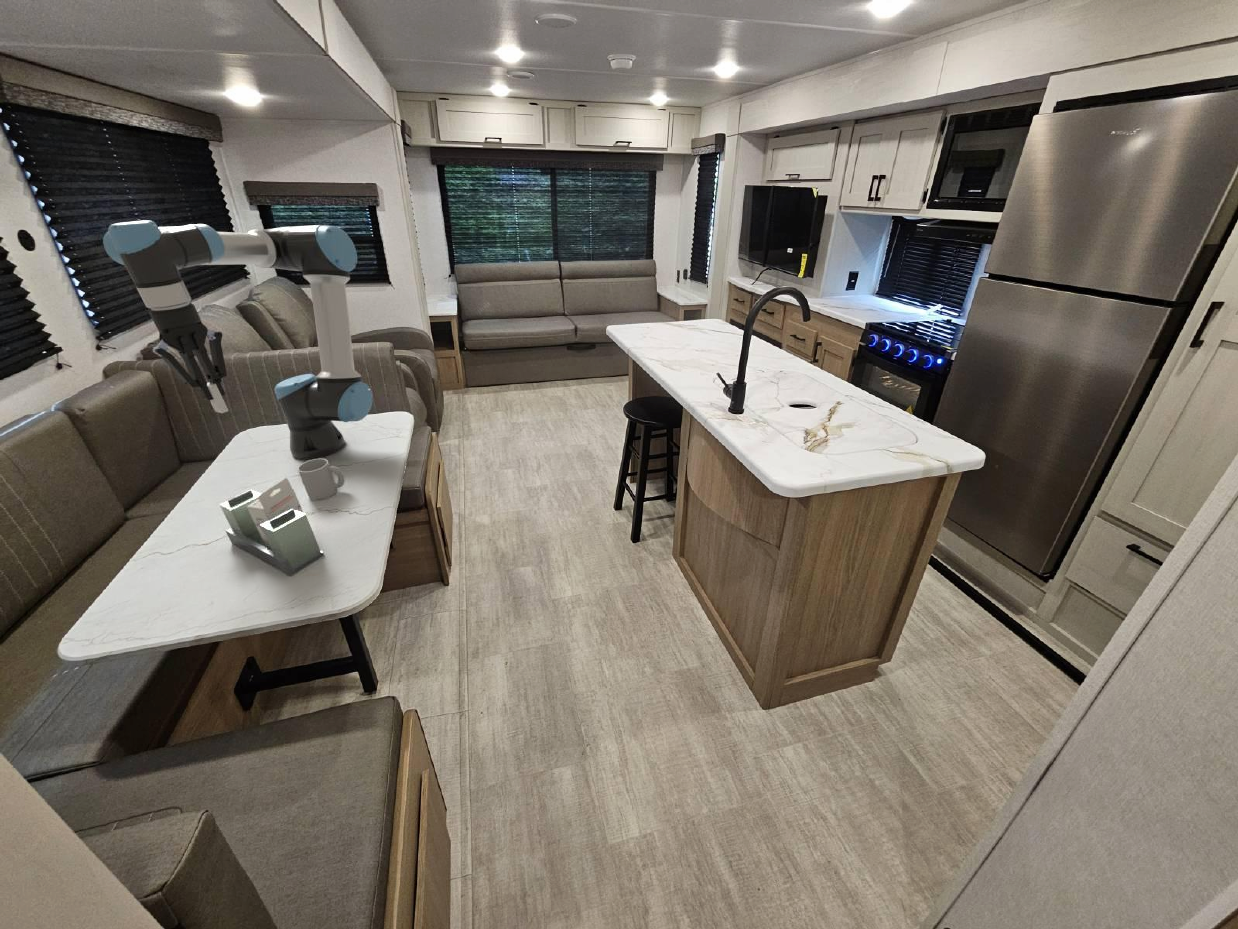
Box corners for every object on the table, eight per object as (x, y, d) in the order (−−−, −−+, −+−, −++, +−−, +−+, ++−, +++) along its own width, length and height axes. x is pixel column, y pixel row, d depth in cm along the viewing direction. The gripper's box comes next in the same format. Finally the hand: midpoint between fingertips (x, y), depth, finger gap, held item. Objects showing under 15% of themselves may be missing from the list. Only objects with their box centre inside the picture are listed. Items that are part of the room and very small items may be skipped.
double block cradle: (266, 526, 129) (246, 484, 123) (324, 555, 118) (306, 510, 112) (232, 544, 123) (210, 501, 117) (290, 576, 112) (269, 530, 106)
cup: (313, 488, 144) (302, 460, 140) (351, 483, 146) (342, 455, 141) (305, 502, 138) (293, 473, 134) (345, 497, 140) (335, 468, 135)
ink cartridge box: (294, 526, 127) (271, 474, 120) (311, 529, 126) (289, 476, 118) (265, 548, 120) (239, 494, 112) (283, 551, 118) (258, 497, 111)
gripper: (194, 296, 112) (241, 397, 124) (123, 312, 102) (181, 420, 115) (214, 299, 109) (260, 402, 121) (142, 315, 99) (200, 426, 112)
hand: (221, 411), depth 118 cm, fingers closed
